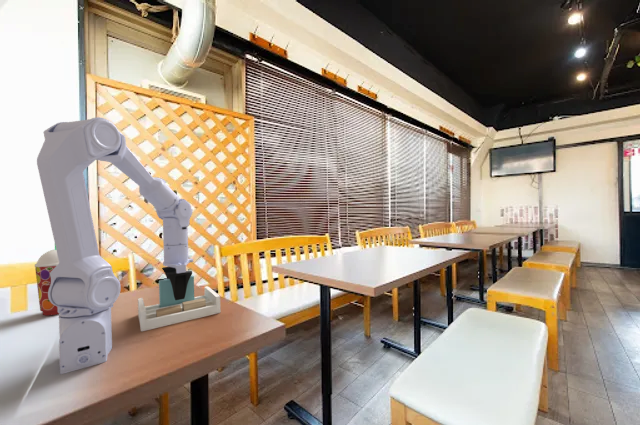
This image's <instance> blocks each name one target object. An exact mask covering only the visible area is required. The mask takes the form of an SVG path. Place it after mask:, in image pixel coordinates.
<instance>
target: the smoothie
mask: <svg viewBox="0 0 640 425" xmlns="http://www.w3.org/2000/svg"><path fill="white" fill-rule="evenodd" d="M58 264H59V259H58V255H57V250H56V246H55V245H54V249H52V250H48V251H46V252H44V253H43V254H42V255H40V257H39V258H38V260H37V261H36V263H35V264H34V268H35V277H36V286H37V293H38V294H37V295H38V303H39V310H40V312H42V315H43V316H49V317H50V316H59V313H58V307H57V306H55V305H53V304H52V303H51V302H50V300H49V298H48V290H49V287H50V285H51V276H50V272H51V271H52V270H53V269H54V268H55V267H56V266H57V265H58Z"/></svg>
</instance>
